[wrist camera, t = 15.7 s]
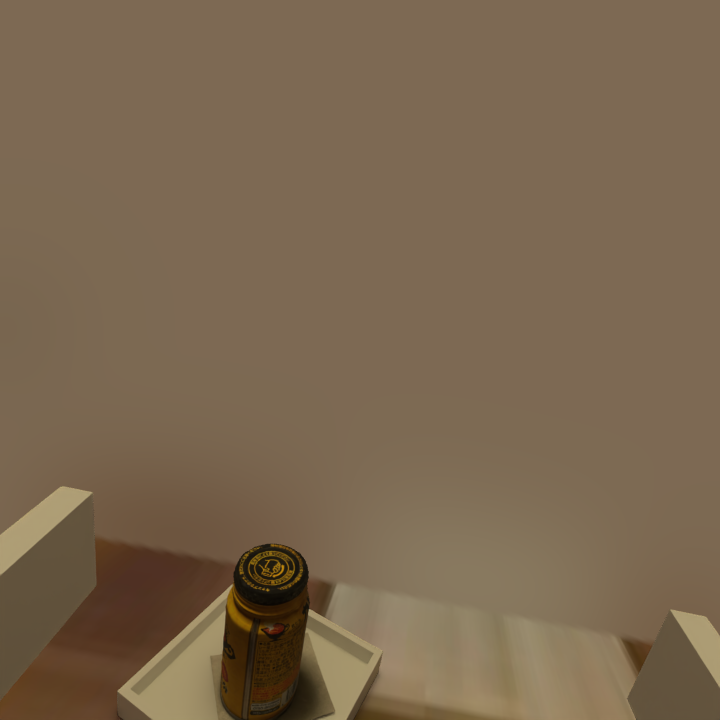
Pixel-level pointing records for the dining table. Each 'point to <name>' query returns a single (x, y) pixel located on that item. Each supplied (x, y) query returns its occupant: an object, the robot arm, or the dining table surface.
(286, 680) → the condiment
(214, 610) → the tray
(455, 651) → the dining table surface
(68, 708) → the dining table surface
